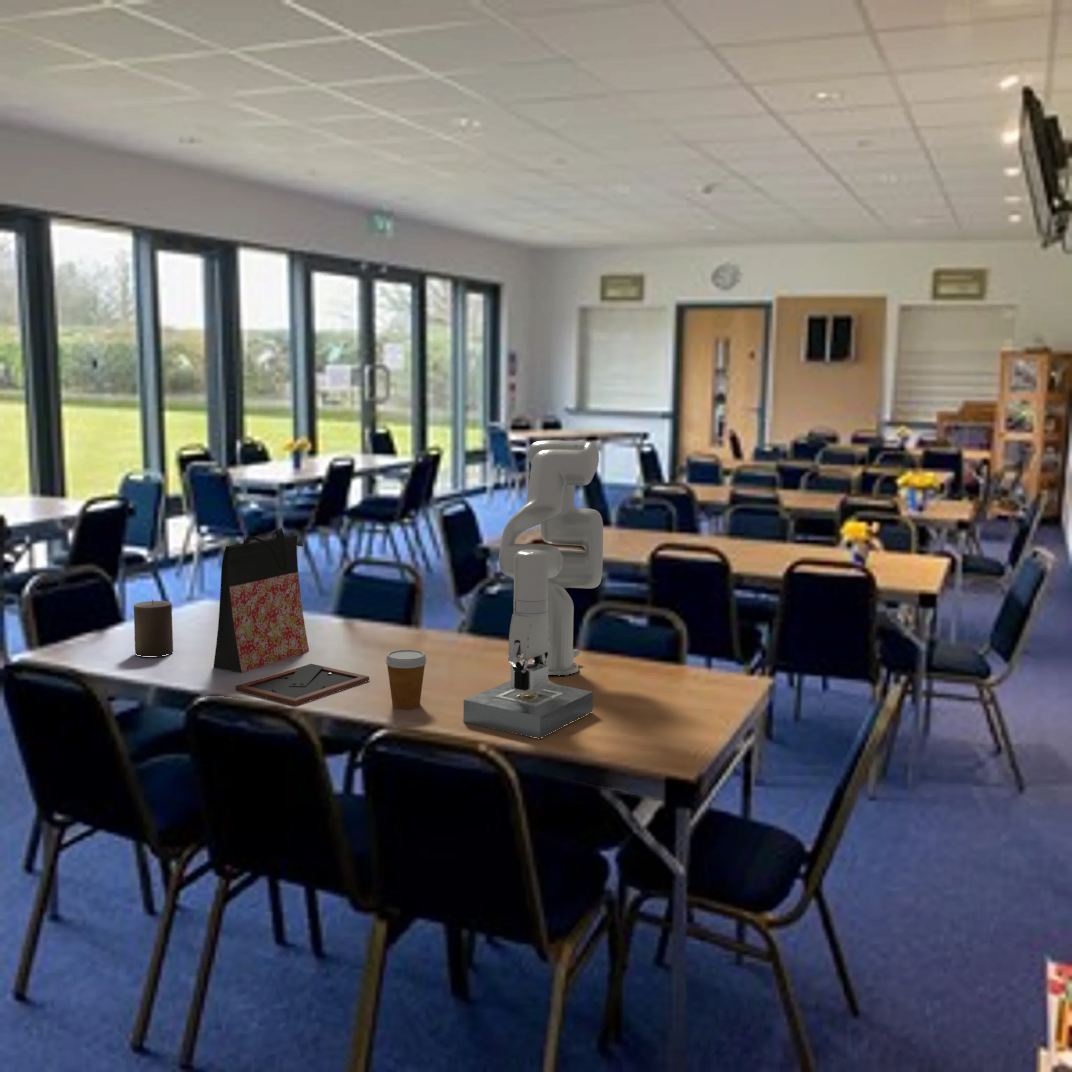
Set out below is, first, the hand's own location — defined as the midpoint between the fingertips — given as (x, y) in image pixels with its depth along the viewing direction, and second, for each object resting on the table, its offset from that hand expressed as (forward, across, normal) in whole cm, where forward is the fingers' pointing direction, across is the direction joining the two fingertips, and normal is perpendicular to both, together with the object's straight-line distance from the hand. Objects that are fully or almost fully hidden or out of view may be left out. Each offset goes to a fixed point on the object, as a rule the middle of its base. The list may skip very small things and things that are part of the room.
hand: (529, 685), depth 231 cm
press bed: (+7, 0, 0) cm, 7 cm away
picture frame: (+8, +12, -58) cm, 60 cm away
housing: (+1, 0, 0) cm, 1 cm away
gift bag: (+8, -1, -84) cm, 84 cm away
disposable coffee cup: (+8, +9, -28) cm, 30 cm away
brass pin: (+7, 0, 0) cm, 7 cm away
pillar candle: (+8, +14, -112) cm, 113 cm away
